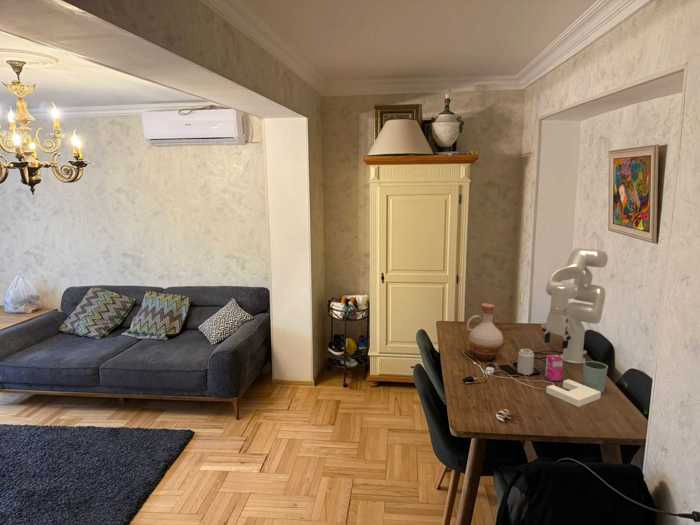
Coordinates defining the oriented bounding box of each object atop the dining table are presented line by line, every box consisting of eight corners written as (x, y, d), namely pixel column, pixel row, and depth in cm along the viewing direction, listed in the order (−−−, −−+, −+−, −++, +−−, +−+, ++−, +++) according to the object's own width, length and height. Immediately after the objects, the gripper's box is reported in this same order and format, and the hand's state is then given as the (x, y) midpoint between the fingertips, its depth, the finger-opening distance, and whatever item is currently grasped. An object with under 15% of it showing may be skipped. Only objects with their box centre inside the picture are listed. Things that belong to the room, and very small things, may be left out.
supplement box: (544, 376, 236) (546, 354, 234) (556, 376, 236) (557, 354, 234) (550, 381, 230) (552, 359, 228) (562, 381, 231) (564, 358, 229)
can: (532, 371, 243) (534, 348, 241) (533, 377, 236) (534, 354, 234) (517, 369, 245) (518, 347, 243) (517, 375, 238) (518, 352, 236)
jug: (462, 360, 257) (464, 306, 251) (467, 349, 273) (469, 298, 268) (500, 365, 250) (503, 310, 244) (503, 354, 266) (506, 302, 261)
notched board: (568, 385, 226) (568, 379, 226) (600, 398, 213) (600, 391, 212) (546, 392, 218) (546, 386, 218) (578, 407, 205) (578, 400, 204)
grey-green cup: (596, 395, 216) (598, 370, 213) (576, 387, 224) (578, 362, 222) (610, 391, 220) (612, 366, 218) (590, 382, 229) (592, 359, 227)
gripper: (580, 314, 222) (577, 349, 224) (548, 305, 236) (545, 339, 239) (570, 316, 218) (567, 351, 221) (538, 307, 232) (535, 341, 235)
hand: (555, 345), depth 230 cm, fingers open, 9 cm apart
